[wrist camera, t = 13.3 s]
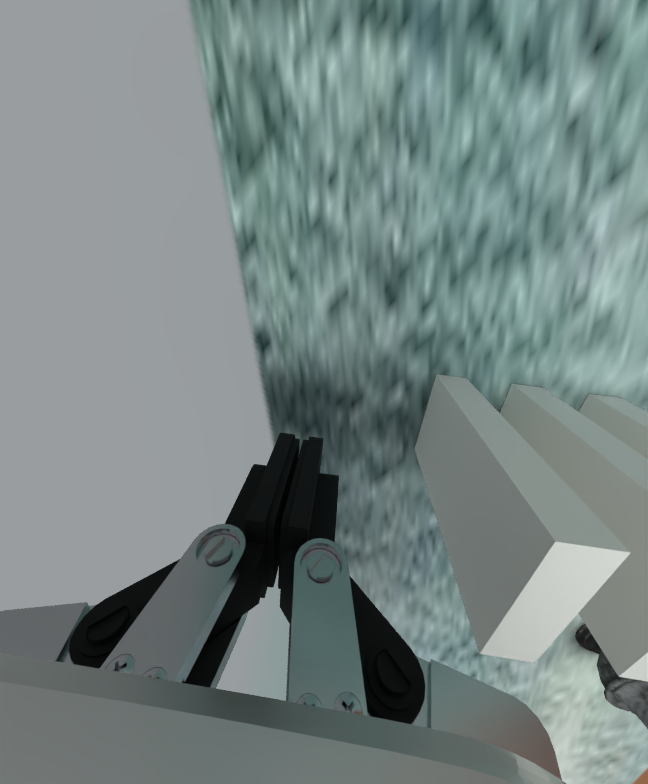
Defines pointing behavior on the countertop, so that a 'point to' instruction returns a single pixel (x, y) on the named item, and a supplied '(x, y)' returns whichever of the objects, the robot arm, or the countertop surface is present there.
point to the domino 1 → (508, 525)
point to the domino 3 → (619, 420)
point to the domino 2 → (598, 513)
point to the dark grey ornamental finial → (617, 681)
